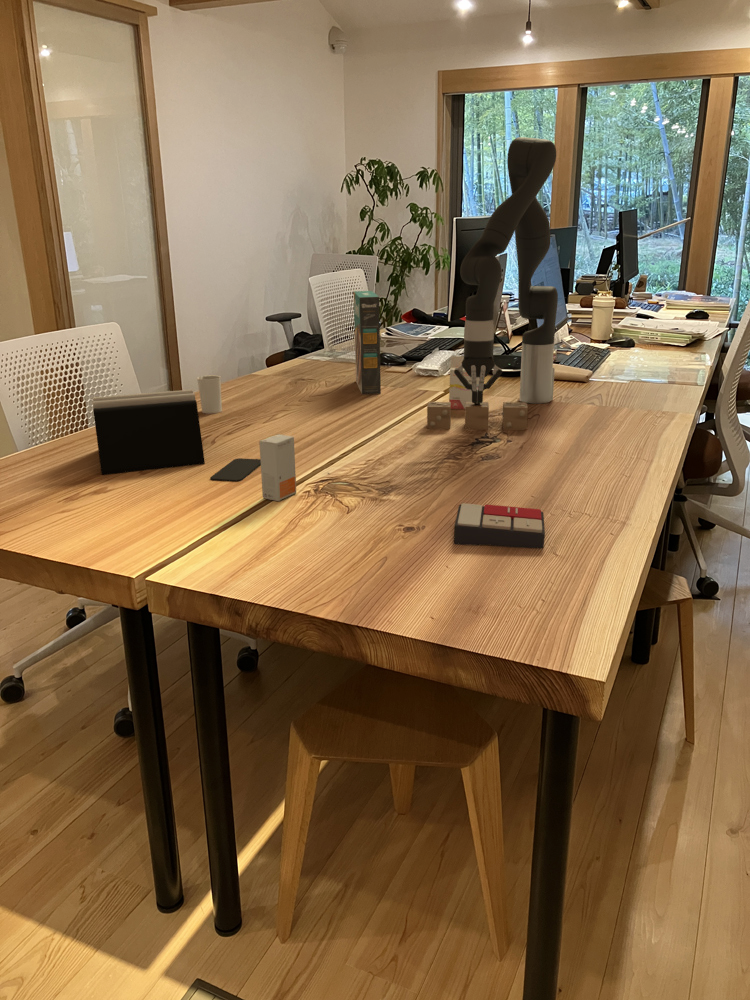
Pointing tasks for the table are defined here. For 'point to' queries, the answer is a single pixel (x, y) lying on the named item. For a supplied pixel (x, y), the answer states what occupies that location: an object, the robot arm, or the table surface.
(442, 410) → the three pip cube
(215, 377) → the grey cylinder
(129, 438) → the device stand
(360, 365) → the cake mix box
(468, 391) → the ink cartridge box
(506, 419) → the two pip cube
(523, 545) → the button keypad
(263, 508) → the table surface
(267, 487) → the skincare box
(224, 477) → the phone
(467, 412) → the plain walnut cube
